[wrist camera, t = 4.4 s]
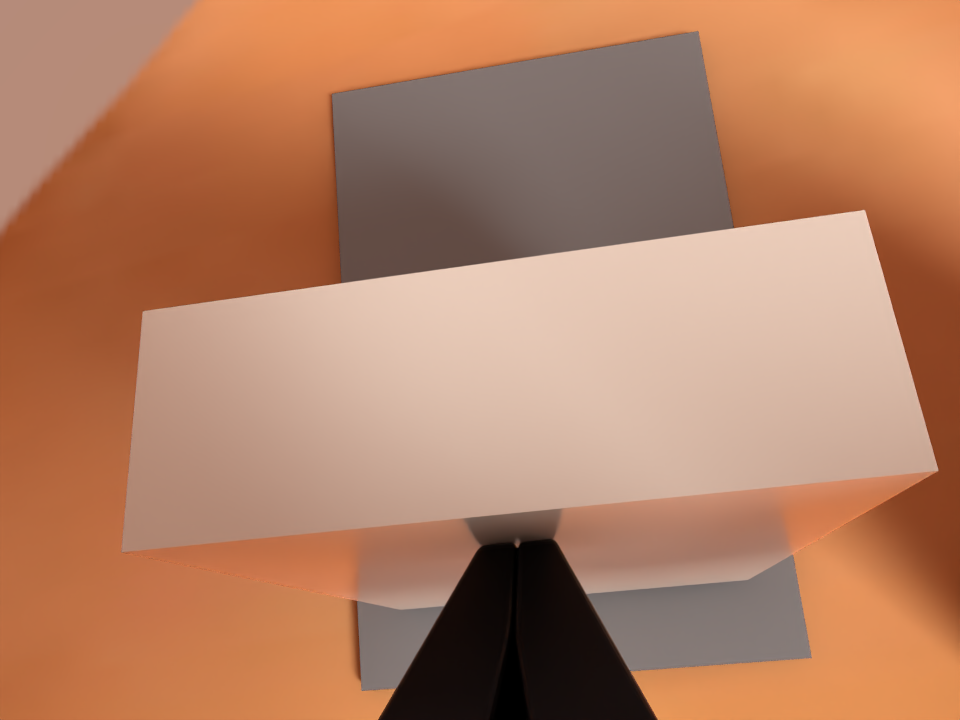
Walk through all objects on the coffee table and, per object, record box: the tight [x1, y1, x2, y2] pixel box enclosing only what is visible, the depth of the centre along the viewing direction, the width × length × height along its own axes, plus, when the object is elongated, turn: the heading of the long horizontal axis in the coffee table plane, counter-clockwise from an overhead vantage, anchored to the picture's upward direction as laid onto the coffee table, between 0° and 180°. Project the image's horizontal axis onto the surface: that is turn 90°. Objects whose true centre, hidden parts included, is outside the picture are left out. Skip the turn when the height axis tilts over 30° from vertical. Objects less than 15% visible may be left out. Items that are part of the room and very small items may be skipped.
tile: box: [121, 210, 939, 610], centre depth 12 cm, size 2×7×10 cm, turn 95°
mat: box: [332, 31, 812, 691], centre depth 18 cm, size 14×9×1 cm, turn 5°
